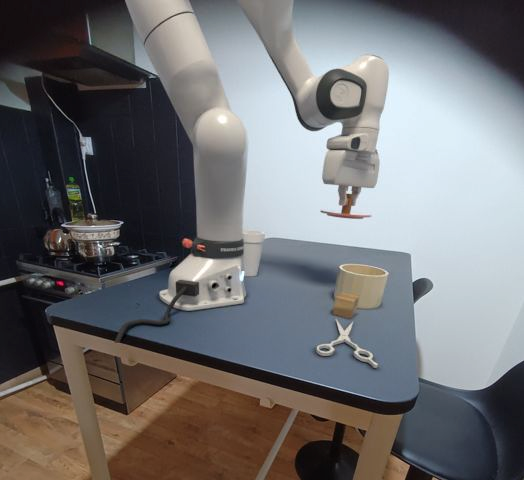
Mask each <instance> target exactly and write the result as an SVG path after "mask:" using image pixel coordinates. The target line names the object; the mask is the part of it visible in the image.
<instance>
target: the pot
mask: <svg viewBox="0 0 524 480" xmlns="http://www.w3.org/2000/svg"><path fill="white" fill-rule="evenodd" d="M389 275H390V273H389V272H388V271H387V270H386V269H383V268H381V267H378V266H377V267H376V266H373V265H367V264H359V263H344V264H341V265H339V266H338V270H337V275H336V280H335V281H336V282H335V285H334V291H333V299H334V300H335V298H336V296H338V295H339V294H341V293H345V294H350V295H354V296H358V297H359V300H358V305H357V309H363V310H364V309H365V310H371V309H378V308H379V307H381V305H382V301H383V297H384V293H385V290H386V286H387V282H388V279H389Z"/></svg>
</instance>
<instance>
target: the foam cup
mask: <svg viewBox="0 0 524 480" xmlns="http://www.w3.org/2000/svg"><path fill="white" fill-rule="evenodd" d="M265 235H266V233H265V232H264V231H261V230H255V229H243V233H242V239H243V240H244V254H243V256H242V270H243V271H244V277H254V276H257V275H258V273H259V266H260V262H261V256H262V252H263V247H264V242H265V237H266V236H265Z"/></svg>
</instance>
